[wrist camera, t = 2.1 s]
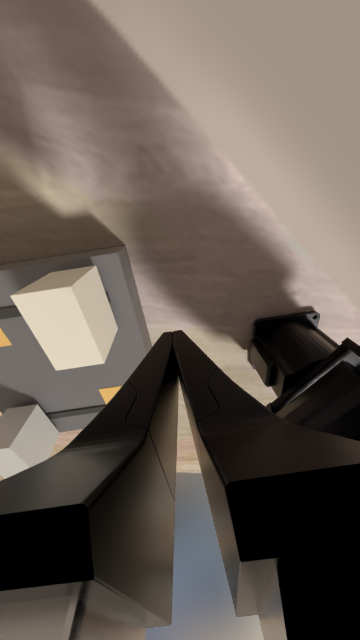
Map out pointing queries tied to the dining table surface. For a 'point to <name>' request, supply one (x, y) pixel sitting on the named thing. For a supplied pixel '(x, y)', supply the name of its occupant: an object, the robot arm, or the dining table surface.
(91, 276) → the cream fader
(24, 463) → the block
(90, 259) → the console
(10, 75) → the dining table surface
